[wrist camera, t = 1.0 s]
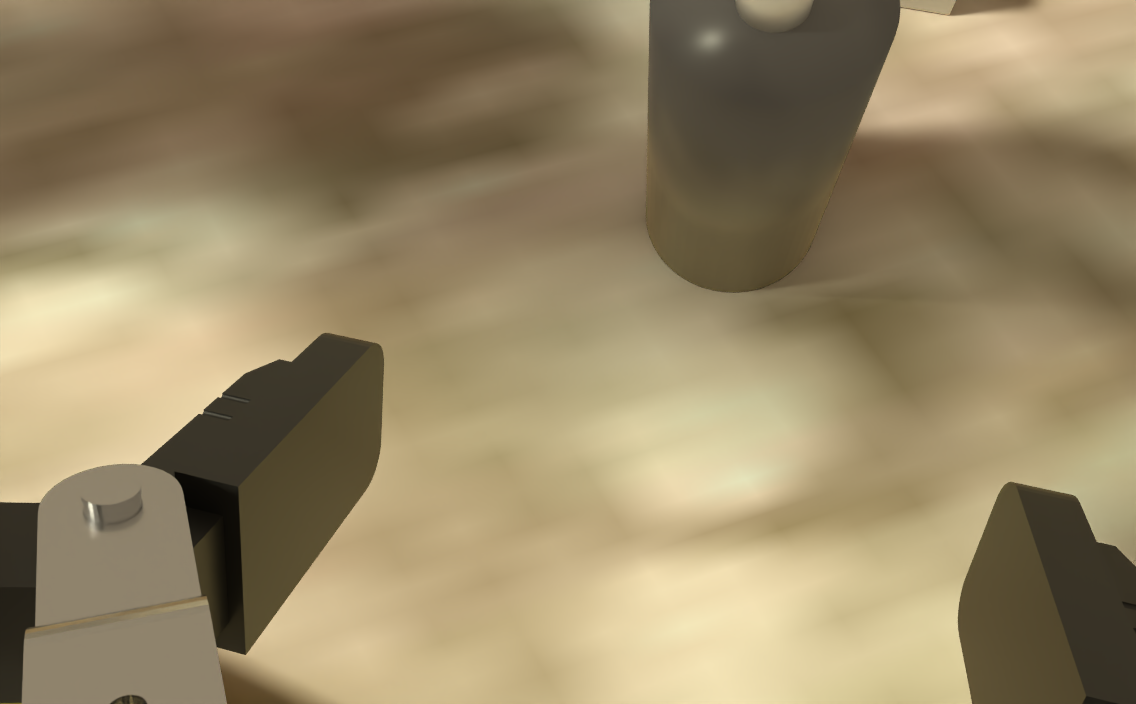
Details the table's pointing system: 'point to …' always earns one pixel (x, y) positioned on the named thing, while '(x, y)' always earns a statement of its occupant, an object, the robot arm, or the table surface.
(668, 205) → the dark grey tube
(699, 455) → the table surface
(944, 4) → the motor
